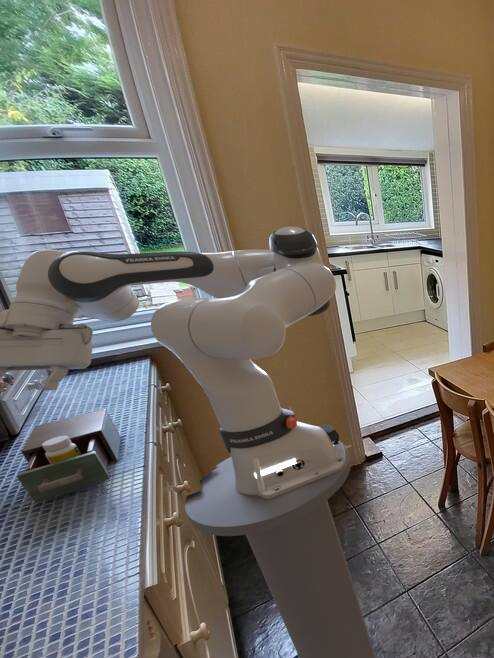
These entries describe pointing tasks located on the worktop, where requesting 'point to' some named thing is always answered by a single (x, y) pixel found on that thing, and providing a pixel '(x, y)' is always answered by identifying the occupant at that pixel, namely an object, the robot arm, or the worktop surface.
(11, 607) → the worktop surface
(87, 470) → the drawer
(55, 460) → the supplement bottle
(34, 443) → the cabinet
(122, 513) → the worktop surface
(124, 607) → the worktop surface
